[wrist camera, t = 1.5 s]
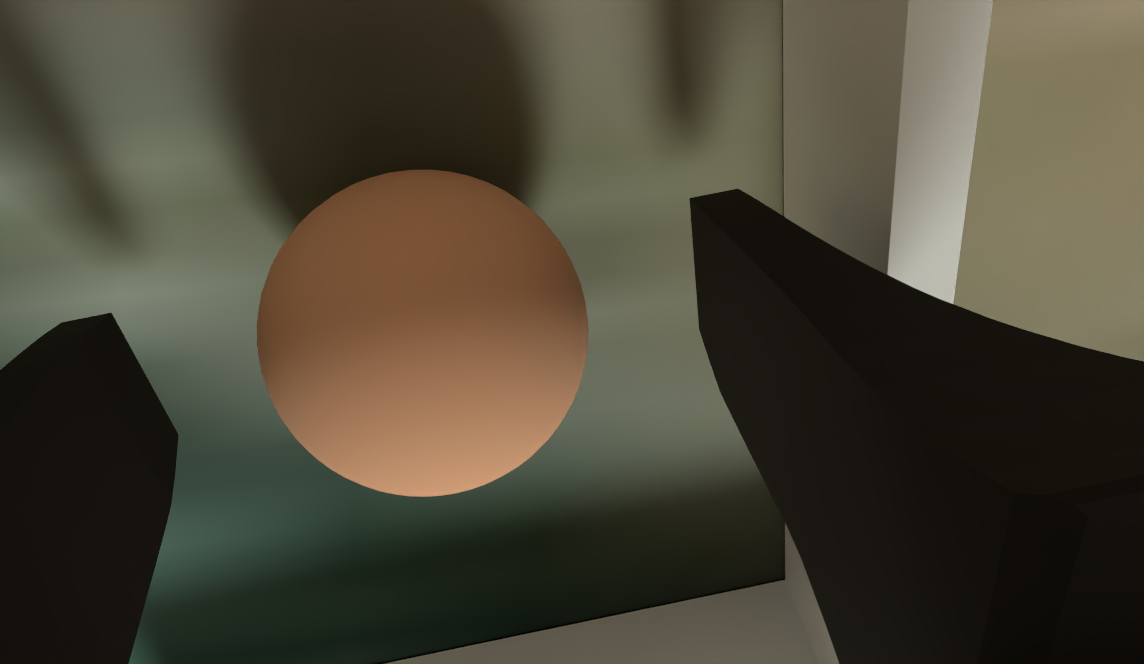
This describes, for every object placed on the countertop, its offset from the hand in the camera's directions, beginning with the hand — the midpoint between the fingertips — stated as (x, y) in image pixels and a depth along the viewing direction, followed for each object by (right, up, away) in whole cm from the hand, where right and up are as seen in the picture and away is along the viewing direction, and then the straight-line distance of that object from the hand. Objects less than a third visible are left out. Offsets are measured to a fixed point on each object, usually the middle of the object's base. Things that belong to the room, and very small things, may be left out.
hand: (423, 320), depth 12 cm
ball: (0, +1, +1) cm, 2 cm away
